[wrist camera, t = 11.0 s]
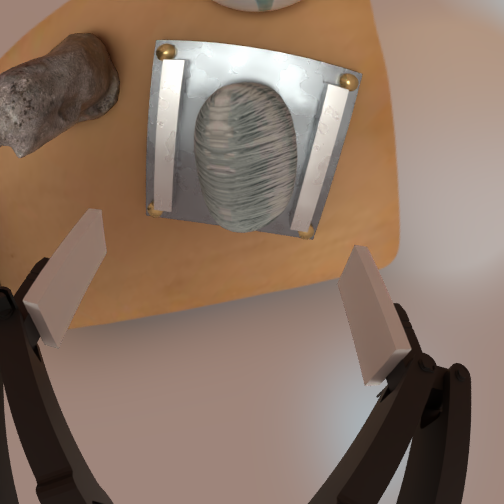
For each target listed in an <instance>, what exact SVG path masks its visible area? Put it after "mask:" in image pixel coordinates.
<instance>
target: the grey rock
mask: <svg viewBox="0 0 504 504" xmlns="http://www.w3.org/2000/svg"><path fill="white" fill-rule="evenodd" d="M194 153H195V162H196V169H197V174H198V178H199V183H200V187H201V191H202V194H203V197H204V201H205V203H206V205H207V208H208V210H209V212H210V214H211V216H212V217H213V219H214V220H215V221H216V222H217V223H218V224H219V225H220V226H221V227H223V228H225V229H227V230H230V231H233V232H241V233H246V232H252V231H256V230H258V229H260V228H263V227H265V226H267V225H269V224H270V223H272V222H273V221H274V220H275V219H276V218H277V217H278V216H279V215H280V214H281V213H282V212H283V211H284V210H285V208H286V207H287V205H288V203H289V201H290V199H291V196H292V193H293V189H294V185H295V178H296V170H297V142H296V133H295V128H294V124H293V120H292V117H291V113H290V111H289V109H288V107H287V105H286V104H285V102H284V100H283V99H282V97H281V96H280V95H279V94H278V93H277V92H276V91H275V90H273V89H271V88H269V87H267V86H265V85H262V84H258V83H248V82H243V83H237V84H230V85H227V86H224V87H221V88H219V89H218V90H216V91H215V92H214V93H213V94H211V95H210V96H209V97H208V99H207V100H206V101H205V102H204V104H203V106H202V107H201V109H200V111H199V113H198V116H197V119H196V124H195V131H194Z"/></svg>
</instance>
